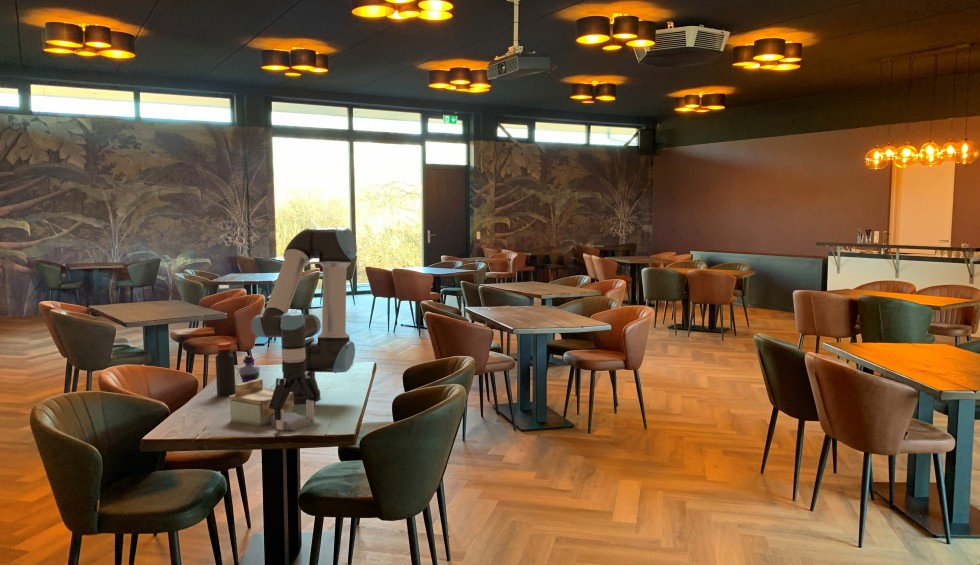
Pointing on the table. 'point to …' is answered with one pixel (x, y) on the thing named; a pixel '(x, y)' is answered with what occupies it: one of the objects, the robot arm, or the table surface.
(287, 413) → the stone block
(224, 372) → the vinegar
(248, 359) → the potion bottle
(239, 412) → the cream box
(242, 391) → the lid
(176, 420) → the table surface
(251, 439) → the table surface
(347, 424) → the table surface
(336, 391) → the table surface
